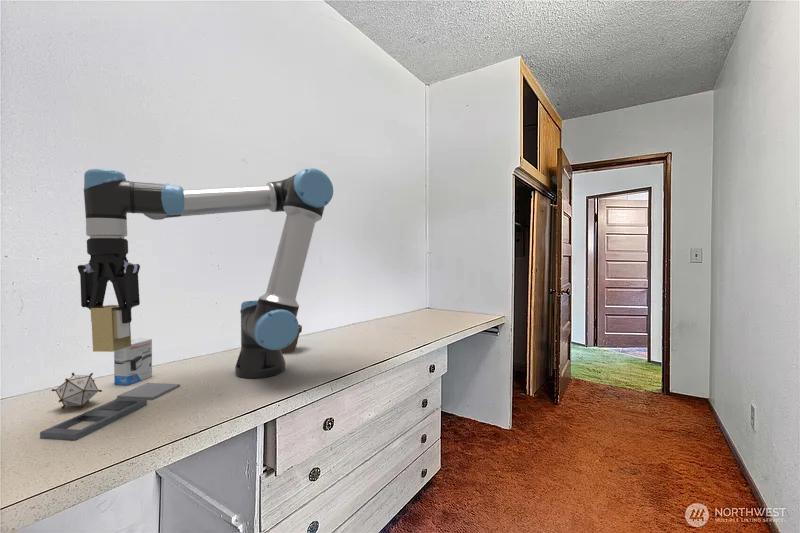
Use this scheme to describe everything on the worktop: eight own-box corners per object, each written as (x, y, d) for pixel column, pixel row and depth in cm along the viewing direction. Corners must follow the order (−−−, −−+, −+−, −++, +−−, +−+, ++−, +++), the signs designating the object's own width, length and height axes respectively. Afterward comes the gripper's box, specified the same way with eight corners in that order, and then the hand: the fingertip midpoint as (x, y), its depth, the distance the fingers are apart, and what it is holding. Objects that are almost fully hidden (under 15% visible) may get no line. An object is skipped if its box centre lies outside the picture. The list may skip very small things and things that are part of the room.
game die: (74, 424, 88) (48, 402, 82) (62, 405, 92) (36, 382, 86) (114, 398, 94) (93, 374, 88) (101, 380, 98) (80, 357, 92)
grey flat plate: (146, 404, 91) (146, 399, 91) (75, 440, 73) (75, 434, 73) (117, 403, 92) (117, 398, 92) (40, 438, 74) (40, 431, 74)
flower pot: (307, 348, 148) (307, 323, 148) (292, 356, 137) (292, 329, 137) (281, 347, 150) (281, 322, 150) (265, 354, 139) (265, 327, 139)
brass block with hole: (131, 346, 89) (129, 304, 88) (113, 351, 84) (111, 307, 83) (111, 345, 89) (109, 304, 89) (93, 351, 84) (90, 307, 84)
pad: (179, 386, 104) (179, 384, 104) (152, 399, 94) (152, 397, 94) (147, 384, 105) (147, 382, 105) (117, 397, 96) (117, 395, 96)
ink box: (127, 385, 105) (127, 344, 104) (113, 384, 106) (112, 344, 105) (153, 376, 113) (152, 338, 113) (140, 375, 114) (139, 337, 114)
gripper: (156, 237, 88) (160, 333, 89) (86, 239, 90) (91, 333, 91) (131, 236, 81) (135, 341, 82) (55, 238, 82) (60, 340, 83)
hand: (112, 336), depth 86 cm, fingers closed on brass block with hole, 5 cm apart
